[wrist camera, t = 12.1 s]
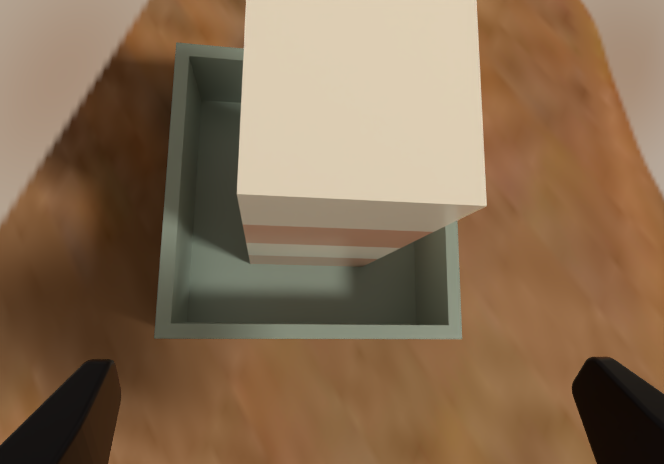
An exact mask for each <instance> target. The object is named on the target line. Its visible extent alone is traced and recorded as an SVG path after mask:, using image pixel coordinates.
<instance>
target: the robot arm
mask: <svg viewBox="0 0 664 464" xmlns="http://www.w3.org/2000/svg"><path fill="white" fill-rule="evenodd" d="M572 394H573V397H574V400H575V403H576V406H577V408H578V411H579V414H580V417H581V420H582V423H583V426H584V428H585V431H586V434H587V437H588V440H589V443H590V446H591V448H592V451H593V454H594V457H595V460H596V462H597V464H664V394H663V393H662V392H660V391H659V390H657V389H656V388H654V387H653V386H652V385H650V384H649V383H647V382H646V381H644V380H643V379H642V378H640V377H639V376H637V375H636V374H634V373H633V372H632V371H630V370H629V369H627V368H626V367H624V366H623V365H622V364H620V363H619V362H617V361H616V360H614V359H612V358H610V357H590V358H589V359H587V360H586V362H585V363H584V365H583V366H582V368H581V370H580V371H579V373H578V375H577V376H576V378H575V379H574V381H573V384H572ZM120 401H121V388H120V383H119V379H118V374H117V370H116V365H115V363H114V361H113V360H110V359H92V360H88V361H86V362H85V363H84V364H83V365H82V366H81V367H80V368H78V369H77V370H76V371H75V372H74V373H73V374H72V375H71V376H70V377H69V378H68V379H67V380H66V381H65V382H64V383H63V384H62V385H61V386H60V387H59V388H58V389H57V390H56V391H55V392H54V393H53V394H52V395H51V396H50V397H49V398H48V399H47V400H46V401H45V402H44V403H43V404H42V405H41V406H40V407H39V408H38V409H37V410H36V411H35V412H34V413H33V414H32V415H31V416H30V417H29V418H28V419H27V420H26V421H25V422H24V423H23V424H22V425H21V426H20V427H19V428H18V429H16V430H15V431H14V432H13V433H12V434H11V435H10V436H9V437H8V438H7V439H6V440H5V441H4V442H3V443H2V444H1V445H0V464H108V461H109V456H110V451H111V446H112V441H113V436H114V431H115V426H116V421H117V416H118V411H119V406H120Z"/></svg>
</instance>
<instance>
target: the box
mask: <svg viewBox="0 0 664 464" xmlns="http://www.w3.org/2000/svg"><path fill="white" fill-rule="evenodd" d="M243 56H244V49H241V48H230V47H219V46H208V45H197V44H186V43H176V54H175V67H174V81H173V94H172V107H171V121H170V134H169V147H168V161H167V174H166V188H165V201H164V214H163V228H162V241H161V254H160V268H159V281H158V294H157V308H156V321H155V334H154V338H169V339H462V325H461V300H460V275H459V250H458V225H457V221H455V222H453V223H451V224H449V225H447V226H445V227H443V228H441V229H439V230H437V231H434V232H432V233H430V234H428V235H426V236H424V237H422V238H420V239H418V240H416V241H414V242H412V243H410V244H408V245H406V246H404V247H402V248H400V249H398V250H396V251H394V252H391V253H389V254H387V255H385V256H383V257H381V258H379V259H377V260H375V261H373V262H371V263H369V264H367V265H365V266H363V267H349V266H312V265H275V264H250V260H249V255H248V250H247V244H246V239H245V234H244V229H243V224H242V218H241V213H240V208H239V203H238V198H237V179H238V159H239V138H240V117H241V97H242V76H243Z"/></svg>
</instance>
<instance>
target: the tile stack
mask: <svg viewBox="0 0 664 464" xmlns="http://www.w3.org/2000/svg"><path fill="white" fill-rule="evenodd" d="M237 198H238V203H239V208H240V213H241V218H242V224H243V229H244V234H245V239H246V244H247V250H248V255H249V260H250V264H275V265H312V266H349V267H363V266H365V265H367V264H369V263H371V262H373V261H375V260H377V259H379V258H381V257H383V256H385V255H387V254H389V253H391V252H394V251H396V250H398V249H400V248H402V247H404V246H406V245H408V244H410V243H412V242H414V241H416V240H418V239H420V238H422V237H424V236H426V235H428V234H430V233H432V232H434V231H437V230H439V229H441V228H443V227H445V226H447V225H449V224H451V223H453V222H455V221H457V220H459V219H461V218H463V217H465V216H467V215H469V214H471V213H473V212H475V211H477V210H479V209H482V208H484V207H486V206H487V202H486V182H485V162H484V142H483V122H482V102H481V82H480V62H479V42H478V22H477V2H476V0H246V15H245V35H244V56H243V76H242V97H241V117H240V138H239V159H238V179H237Z"/></svg>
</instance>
